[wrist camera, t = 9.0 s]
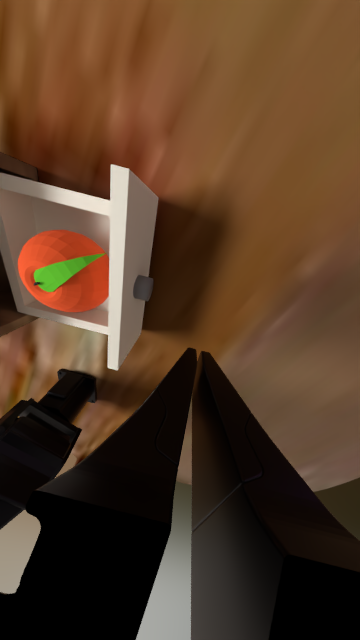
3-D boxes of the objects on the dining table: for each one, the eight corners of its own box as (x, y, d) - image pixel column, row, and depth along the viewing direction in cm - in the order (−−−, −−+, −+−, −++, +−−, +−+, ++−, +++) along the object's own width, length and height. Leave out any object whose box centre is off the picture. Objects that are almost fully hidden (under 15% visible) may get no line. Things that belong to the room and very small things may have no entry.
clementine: (109, 211, 15) (42, 191, 9) (146, 280, 17) (115, 304, 11) (50, 249, 17) (-37, 256, 11) (91, 306, 20) (39, 338, 13)
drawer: (149, 335, 22) (129, 373, 15) (48, 309, 21) (-12, 337, 15) (171, 201, 15) (151, 174, 9) (21, 162, 15) (-106, 108, 8)
